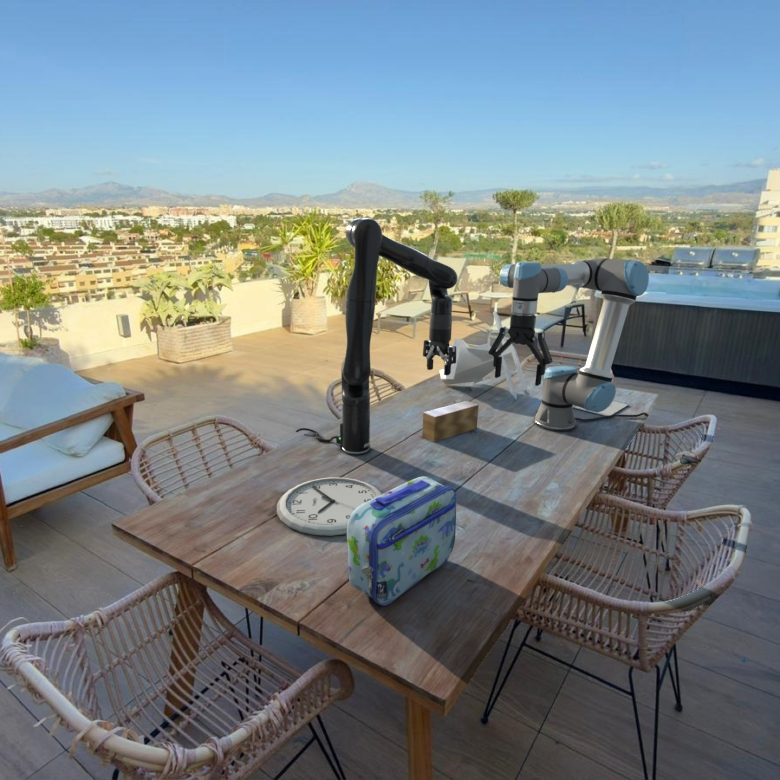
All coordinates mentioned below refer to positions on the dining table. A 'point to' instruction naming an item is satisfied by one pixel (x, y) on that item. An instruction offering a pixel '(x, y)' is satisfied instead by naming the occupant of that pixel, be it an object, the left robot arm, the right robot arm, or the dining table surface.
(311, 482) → the wall clock
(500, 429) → the dining table surface
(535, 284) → the right robot arm
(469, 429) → the box
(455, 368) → the white plastic object
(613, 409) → the invitation card
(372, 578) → the lunch box
